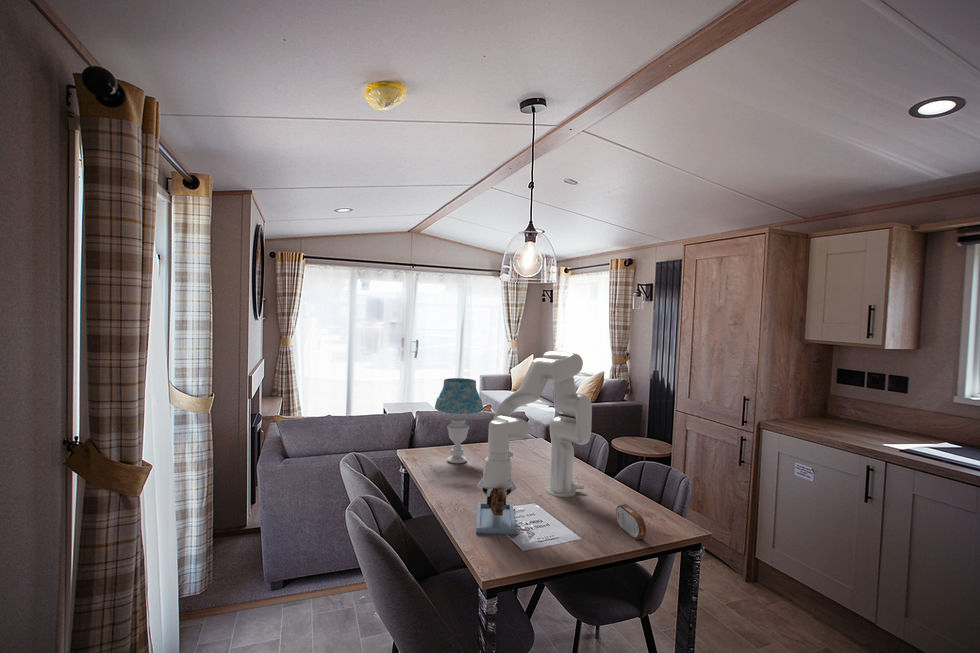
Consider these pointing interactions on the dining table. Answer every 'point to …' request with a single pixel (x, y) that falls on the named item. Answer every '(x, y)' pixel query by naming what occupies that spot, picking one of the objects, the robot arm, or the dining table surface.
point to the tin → (631, 521)
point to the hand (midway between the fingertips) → (496, 506)
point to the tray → (495, 520)
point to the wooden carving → (497, 501)
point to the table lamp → (458, 411)
